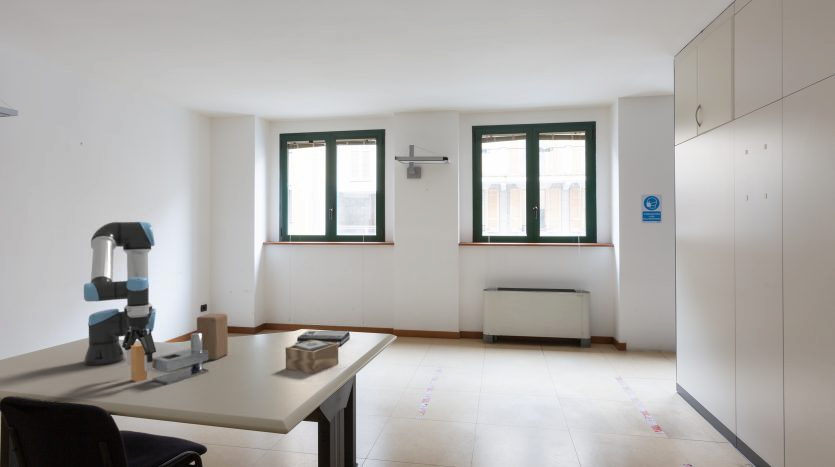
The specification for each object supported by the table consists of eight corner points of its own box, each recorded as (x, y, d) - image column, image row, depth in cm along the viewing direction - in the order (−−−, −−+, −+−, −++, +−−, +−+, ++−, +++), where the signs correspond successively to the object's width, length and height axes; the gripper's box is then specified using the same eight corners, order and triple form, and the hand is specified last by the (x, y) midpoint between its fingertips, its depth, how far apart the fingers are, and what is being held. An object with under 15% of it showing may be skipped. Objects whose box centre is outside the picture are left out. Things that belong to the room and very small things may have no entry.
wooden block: (215, 360, 209) (214, 317, 209) (196, 359, 211) (195, 317, 211) (228, 354, 219) (228, 313, 219) (210, 353, 221) (209, 313, 221)
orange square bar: (131, 380, 183) (130, 345, 183) (141, 377, 187) (141, 343, 186) (136, 381, 181) (136, 346, 181) (147, 378, 185) (146, 344, 184)
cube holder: (285, 368, 197) (285, 347, 197) (311, 358, 211) (311, 339, 210) (313, 373, 189) (313, 352, 189) (338, 363, 203) (338, 343, 202)
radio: (349, 329, 249) (338, 338, 229) (349, 339, 249) (339, 349, 229) (307, 329, 252) (292, 337, 232) (307, 338, 252) (292, 347, 232)
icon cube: (295, 367, 198) (295, 345, 197) (314, 362, 205) (314, 340, 205) (309, 372, 191) (309, 348, 191) (328, 366, 199) (328, 344, 199)
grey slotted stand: (152, 380, 183) (152, 340, 182) (194, 368, 198) (193, 331, 198) (167, 384, 178) (166, 343, 177) (208, 371, 193) (208, 334, 193)
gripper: (112, 314, 187) (112, 365, 187) (146, 320, 174) (147, 375, 174) (131, 311, 193) (131, 361, 193) (165, 316, 181) (166, 369, 181)
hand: (139, 367), depth 184 cm, fingers open, 13 cm apart
